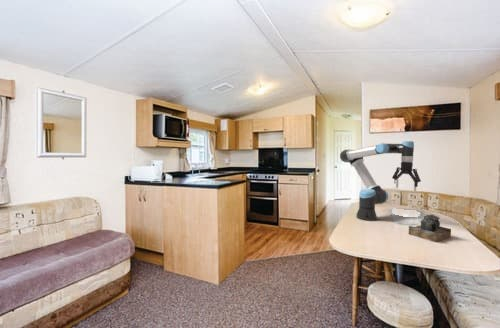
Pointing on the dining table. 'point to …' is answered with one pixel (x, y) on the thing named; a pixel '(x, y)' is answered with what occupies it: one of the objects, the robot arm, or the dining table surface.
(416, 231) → the display plinth
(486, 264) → the dining table surface
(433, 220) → the camera
